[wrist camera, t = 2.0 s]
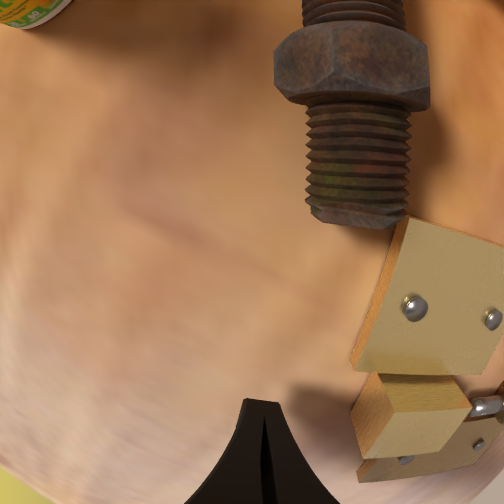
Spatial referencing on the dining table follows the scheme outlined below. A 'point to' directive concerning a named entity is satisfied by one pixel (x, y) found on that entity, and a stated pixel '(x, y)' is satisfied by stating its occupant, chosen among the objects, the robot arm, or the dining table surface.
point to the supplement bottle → (29, 12)
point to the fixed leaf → (453, 452)
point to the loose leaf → (426, 337)
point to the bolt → (355, 106)
